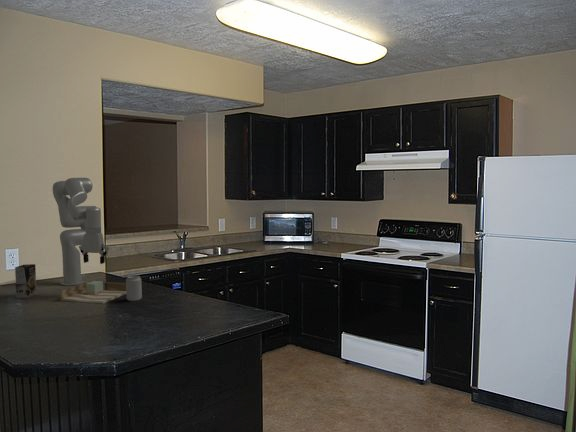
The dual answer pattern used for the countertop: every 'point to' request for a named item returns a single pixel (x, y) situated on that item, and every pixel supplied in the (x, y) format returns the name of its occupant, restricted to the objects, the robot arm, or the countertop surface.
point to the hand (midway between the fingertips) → (94, 262)
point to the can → (133, 288)
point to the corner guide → (104, 296)
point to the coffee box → (25, 281)
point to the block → (95, 287)
